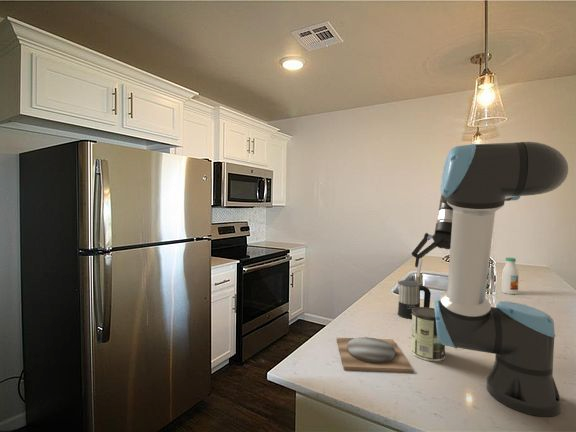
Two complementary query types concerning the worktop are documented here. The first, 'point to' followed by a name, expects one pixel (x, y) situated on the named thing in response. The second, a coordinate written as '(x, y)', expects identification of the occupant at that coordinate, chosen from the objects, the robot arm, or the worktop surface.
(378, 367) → the mount board
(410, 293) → the milk frother
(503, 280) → the milk bottle
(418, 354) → the coffee can
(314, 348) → the worktop surface
